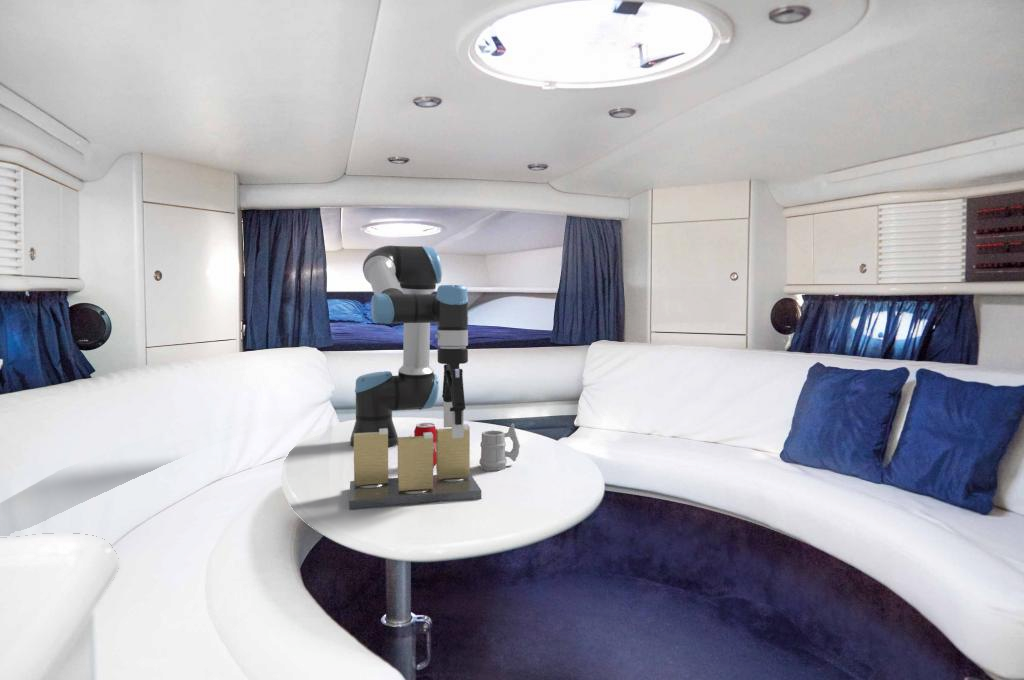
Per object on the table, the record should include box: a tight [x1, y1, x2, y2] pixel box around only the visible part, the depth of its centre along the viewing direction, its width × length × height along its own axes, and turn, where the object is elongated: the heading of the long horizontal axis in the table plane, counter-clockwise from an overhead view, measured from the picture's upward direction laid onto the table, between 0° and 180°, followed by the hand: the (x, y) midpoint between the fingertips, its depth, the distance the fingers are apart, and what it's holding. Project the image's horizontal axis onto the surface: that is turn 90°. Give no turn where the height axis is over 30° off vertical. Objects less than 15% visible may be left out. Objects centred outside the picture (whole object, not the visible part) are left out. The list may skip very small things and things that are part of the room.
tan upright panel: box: [435, 423, 471, 479], centre depth 145 cm, size 8×3×13 cm, turn 105°
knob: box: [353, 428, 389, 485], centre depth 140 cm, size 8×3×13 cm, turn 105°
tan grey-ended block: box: [397, 432, 434, 491], centre depth 136 cm, size 8×3×13 cm, turn 105°
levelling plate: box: [348, 473, 482, 511], centre depth 140 cm, size 15×30×2 cm, turn 105°
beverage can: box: [413, 422, 437, 468], centre depth 163 cm, size 6×6×12 cm
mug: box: [479, 423, 521, 472], centre depth 163 cm, size 8×12×12 cm, turn 112°
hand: (453, 432), depth 145 cm, fingers open, 13 cm apart
